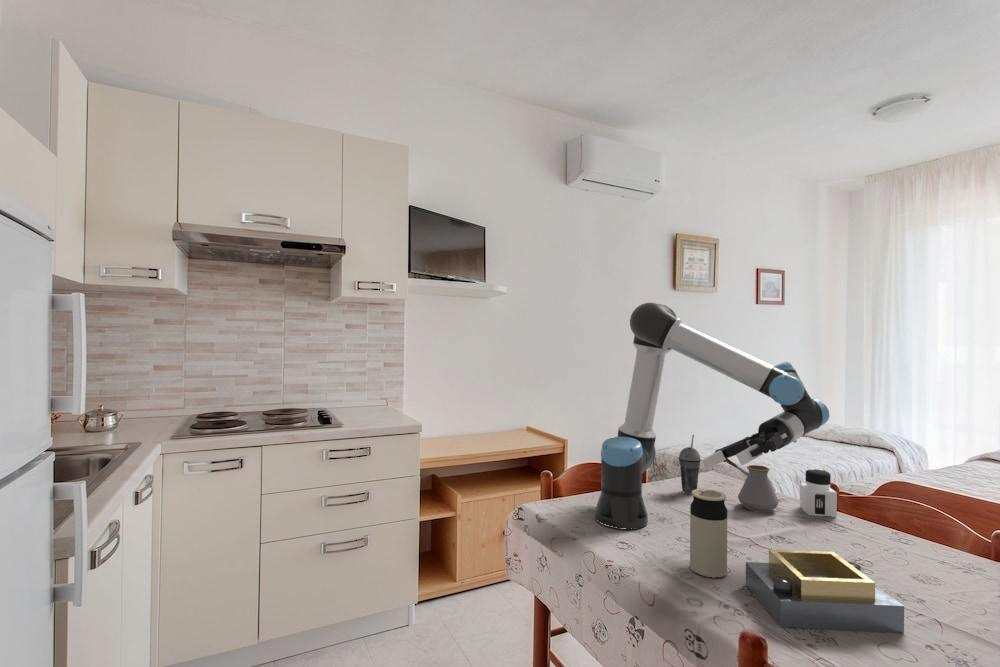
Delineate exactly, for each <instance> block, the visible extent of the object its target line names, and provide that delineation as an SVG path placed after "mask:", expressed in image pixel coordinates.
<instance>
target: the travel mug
mask: <svg viewBox="0 0 1000 667" xmlns="http://www.w3.org/2000/svg"><path fill="white" fill-rule="evenodd" d="M692 498H693V499H692V502H691V504H690V505H689V506H690V507H689V508H690V512H689V513H690V514H689V517H690V518H689V519H690V522H689V524H690V525H689V527H690V528H689V529H690V530H689V532H690V533H689V539H690V540H689V568H690V570H692V571H693V572H694V573H695V574H697V573H698V574H697V575H699V574H700V576H702V575H703V576H702V577H705V576H706V577H705V578H710V577H712V579H717V578H716V577H719V578H722V577H726V575H727V574H728V508H727V506H726V505H725V504H726V503H725V502H726V499H727V494H726V493H724V492H722V491H719V490H716V489H711V488H710V489H709V488H697V489H695V490H693V491H692Z"/></svg>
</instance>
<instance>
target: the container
mask: <svg viewBox="0 0 1000 667" xmlns="http://www.w3.org/2000/svg"><path fill="white" fill-rule="evenodd" d="M831 477H832V476H831V473H830V472H828V471H826V470H823V469H819V468H808V469H806V470H805V483H802V482H800V483H799V508H800V509H801V508H802V511H804V512H805V513H806V514H807V515H808V516H810V515H812V516H811V517H823V516H832V517H831V518H837V515H838V513H837V512H838V510H837V509H838V492H837V491H836V490H834V489H833V488H831V479H832V478H831ZM801 501H802V502H801Z"/></svg>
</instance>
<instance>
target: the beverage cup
mask: <svg viewBox="0 0 1000 667" xmlns="http://www.w3.org/2000/svg"><path fill="white" fill-rule="evenodd" d="M691 436H692V437H691V444H690V447H689V446H687V447H685V448H683V449H681V451H680V453H679V456H678V461H679V467H680V478H681V489H682V493H683V492H684V493H683V494H685V493H687V494H686V495H689V494H692V491H693V490H695V489H698V482H699V472H700V466H701V462H702V461H701V460H702V459H701V454H700V453H699V451H698V450H696V449H695V448H693V444H694V438H695V434H692V435H691Z"/></svg>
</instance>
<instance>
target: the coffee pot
mask: <svg viewBox="0 0 1000 667" xmlns="http://www.w3.org/2000/svg"><path fill="white" fill-rule="evenodd" d="M714 453H716V450H715V451H714V452H713V453H712V454H714ZM725 461H726V462H725V463H727V464H729V465H731V466H732V467H734V468H735V469H737V470H739V471H740V472H741V473H743V474H744V475H746V476H747V477H746V478H745V481H744V483H743V485H742V487H741V489H740V491H739V493H738V494H737V495H738V496H737V498H738V501H739V502H740V503H741V505H742V506H744V508H745V509H746V508H747V510H748V509H750V510H749V511H751V510H753V511H752V512H755V511H758V512H757V513H771V512H772V511H773V510H775V509H776V508H777V507H778V505H779V498H778V497H777V494H776V492H775V490H774V488H773V485H772V483H771V481H770V478H769V477H768V474H769V472H770V468H769V467H767V466H765V465H764V466H763V465H757V464H754V465H753V464H750V465H747V466H746V468H747V470H748V471H746V470H744V469H743V468H741V467H739V465H737V464H736V463H735V462H733V461H732V460H731V459H729V458H726V460H725ZM771 510H772V511H771ZM770 511H771V512H770Z"/></svg>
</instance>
